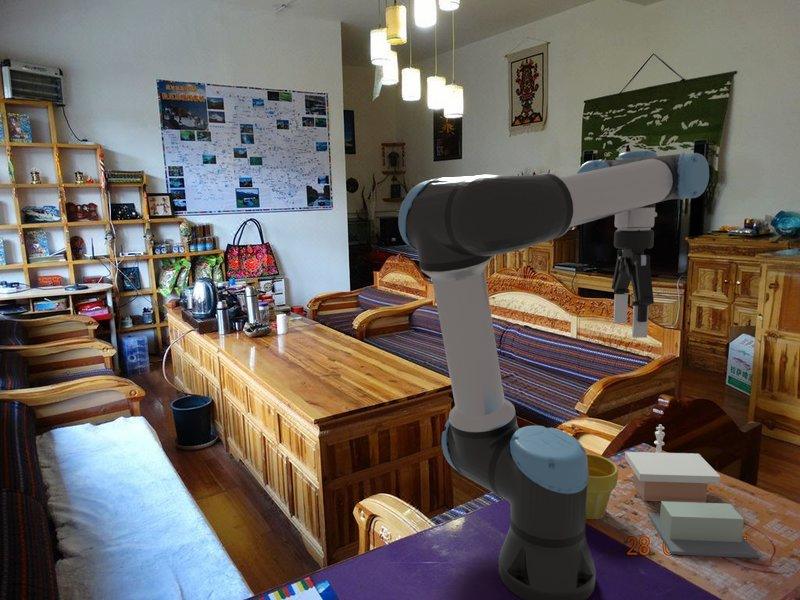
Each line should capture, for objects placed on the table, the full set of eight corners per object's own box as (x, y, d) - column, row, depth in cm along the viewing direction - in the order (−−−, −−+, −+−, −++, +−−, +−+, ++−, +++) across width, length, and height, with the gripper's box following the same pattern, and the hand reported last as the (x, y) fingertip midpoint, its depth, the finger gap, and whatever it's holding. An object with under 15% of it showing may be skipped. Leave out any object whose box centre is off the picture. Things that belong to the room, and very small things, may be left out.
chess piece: (641, 462, 128) (644, 421, 126) (661, 460, 128) (664, 419, 127) (653, 472, 123) (656, 429, 121) (674, 470, 124) (677, 428, 122)
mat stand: (671, 554, 94) (672, 527, 93) (647, 515, 106) (649, 491, 105) (758, 558, 93) (760, 531, 92) (724, 518, 105) (726, 493, 104)
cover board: (639, 481, 109) (640, 474, 109) (625, 458, 119) (625, 451, 119) (719, 483, 108) (720, 476, 107) (698, 460, 117) (698, 453, 117)
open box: (643, 500, 111) (644, 477, 111) (632, 483, 118) (634, 461, 117) (706, 502, 110) (708, 479, 109) (691, 485, 117) (693, 463, 116)
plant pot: (620, 505, 110) (623, 459, 108) (609, 531, 101) (611, 482, 100) (568, 492, 115) (569, 448, 114) (553, 515, 107) (554, 468, 105)
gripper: (676, 231, 101) (669, 344, 105) (634, 226, 125) (629, 317, 129) (634, 232, 102) (628, 344, 105) (600, 226, 126) (596, 317, 130)
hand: (629, 329), depth 117 cm, fingers open, 13 cm apart
